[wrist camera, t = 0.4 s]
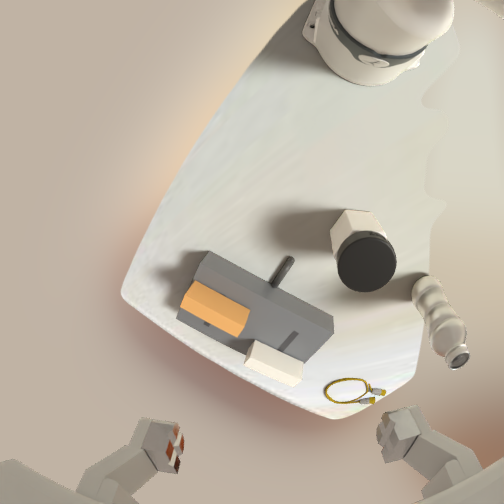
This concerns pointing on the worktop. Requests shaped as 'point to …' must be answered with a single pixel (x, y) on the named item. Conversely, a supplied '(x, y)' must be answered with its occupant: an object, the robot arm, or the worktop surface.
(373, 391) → the extension cord
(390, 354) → the worktop surface
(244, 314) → the orange switch
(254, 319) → the switch box
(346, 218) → the jar
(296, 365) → the white switch
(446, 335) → the plastic bottle
